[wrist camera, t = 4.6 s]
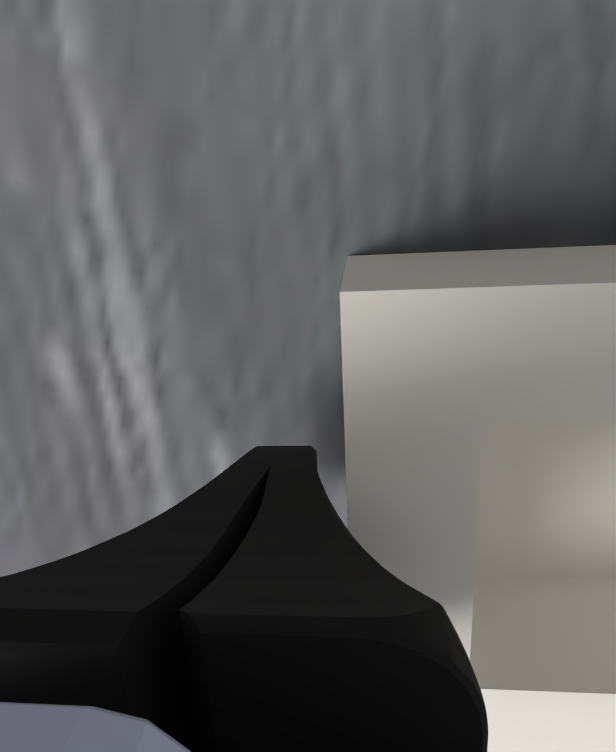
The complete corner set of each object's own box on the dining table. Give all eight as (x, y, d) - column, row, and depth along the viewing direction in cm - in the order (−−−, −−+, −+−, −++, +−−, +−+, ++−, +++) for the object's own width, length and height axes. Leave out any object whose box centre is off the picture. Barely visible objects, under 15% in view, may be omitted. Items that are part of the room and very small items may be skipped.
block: (736, 622, 14) (881, 793, 10) (358, 613, 14) (355, 765, 11) (829, 235, 11) (1084, 266, 7) (347, 255, 12) (339, 291, 8)
